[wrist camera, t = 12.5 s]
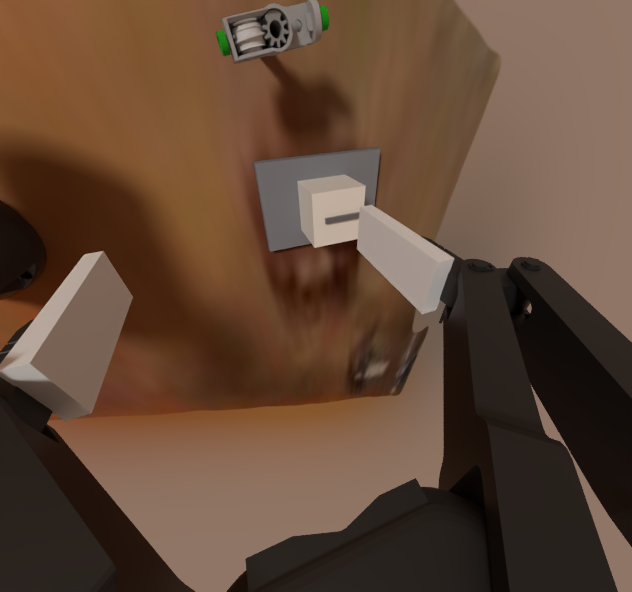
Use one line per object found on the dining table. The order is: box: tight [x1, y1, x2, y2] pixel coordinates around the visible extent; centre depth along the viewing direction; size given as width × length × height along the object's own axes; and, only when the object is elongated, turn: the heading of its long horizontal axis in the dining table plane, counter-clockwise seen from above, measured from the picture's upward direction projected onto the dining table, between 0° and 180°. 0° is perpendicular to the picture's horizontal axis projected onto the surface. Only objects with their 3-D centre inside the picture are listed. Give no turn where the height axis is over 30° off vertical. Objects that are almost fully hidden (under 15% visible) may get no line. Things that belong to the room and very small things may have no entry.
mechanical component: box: [216, 0, 329, 64], centre depth 26 cm, size 3×10×10 cm, turn 103°
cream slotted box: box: [297, 175, 366, 248], centre depth 40 cm, size 8×8×7 cm
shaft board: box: [253, 148, 380, 252], centre depth 41 cm, size 20×14×6 cm
